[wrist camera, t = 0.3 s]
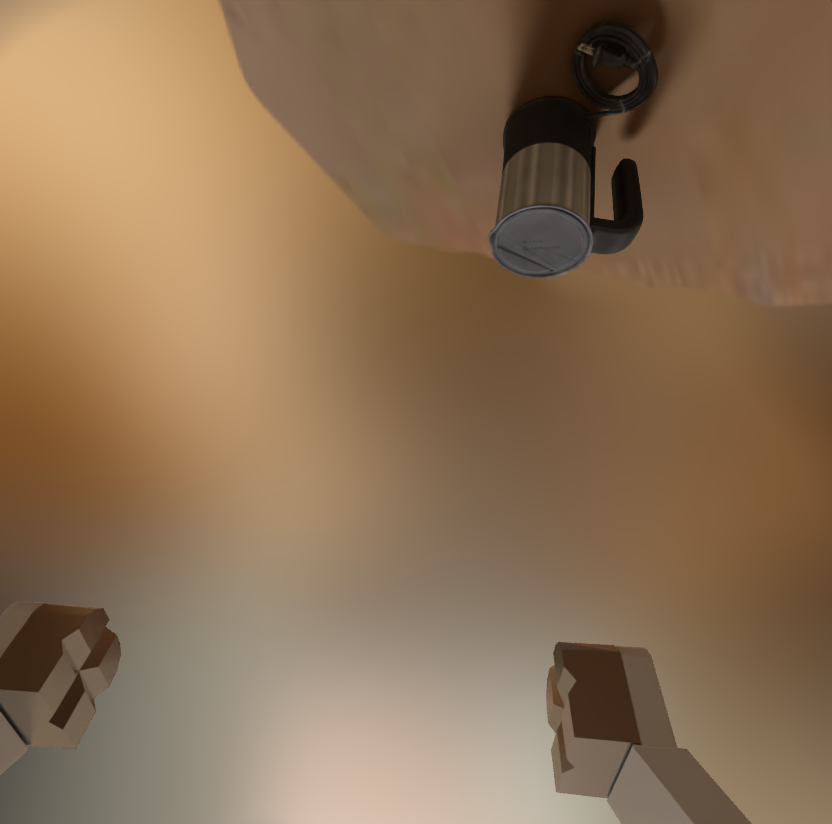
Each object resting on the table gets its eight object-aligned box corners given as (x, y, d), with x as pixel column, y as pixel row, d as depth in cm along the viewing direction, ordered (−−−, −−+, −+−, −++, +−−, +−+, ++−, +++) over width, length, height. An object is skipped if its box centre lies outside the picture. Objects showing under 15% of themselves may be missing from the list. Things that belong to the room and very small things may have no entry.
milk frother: (505, 178, 65) (494, 282, 58) (488, 31, 52) (472, 144, 45) (642, 166, 61) (648, 275, 54) (662, 5, 48) (673, 123, 41)
